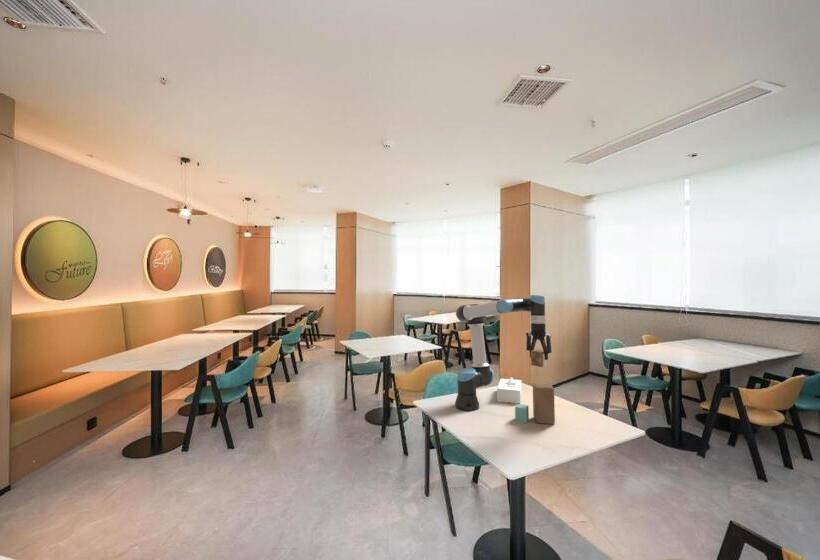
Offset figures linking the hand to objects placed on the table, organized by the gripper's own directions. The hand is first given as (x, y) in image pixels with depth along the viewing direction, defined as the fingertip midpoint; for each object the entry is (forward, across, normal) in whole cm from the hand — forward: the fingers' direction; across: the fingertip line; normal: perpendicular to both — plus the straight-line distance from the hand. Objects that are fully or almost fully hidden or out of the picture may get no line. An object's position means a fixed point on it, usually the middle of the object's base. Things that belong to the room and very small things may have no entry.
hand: (539, 364), depth 183 cm
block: (+33, -1, +6) cm, 34 cm away
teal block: (+33, -10, -2) cm, 34 cm away
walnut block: (0, 0, 0) cm, 0 cm away
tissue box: (+33, -36, +28) cm, 57 cm away
